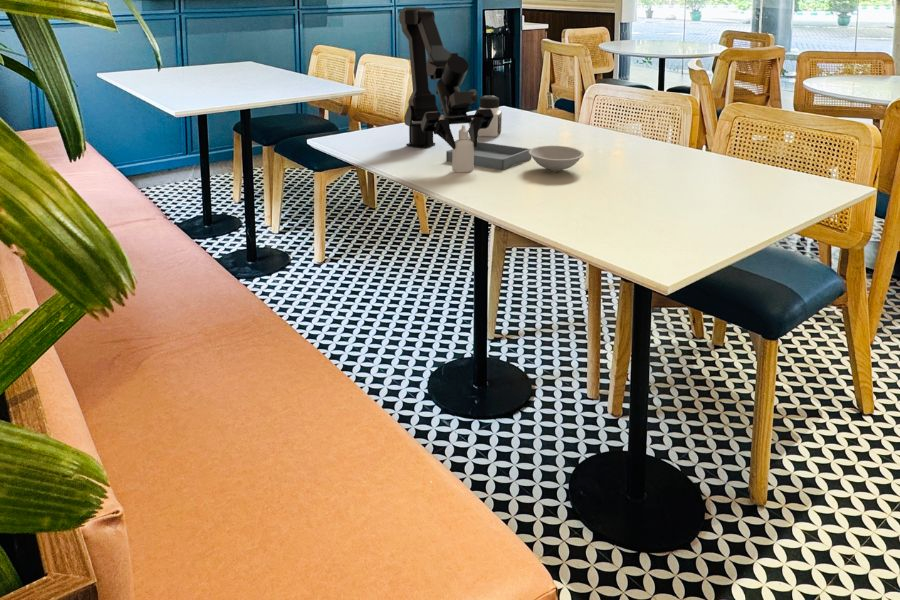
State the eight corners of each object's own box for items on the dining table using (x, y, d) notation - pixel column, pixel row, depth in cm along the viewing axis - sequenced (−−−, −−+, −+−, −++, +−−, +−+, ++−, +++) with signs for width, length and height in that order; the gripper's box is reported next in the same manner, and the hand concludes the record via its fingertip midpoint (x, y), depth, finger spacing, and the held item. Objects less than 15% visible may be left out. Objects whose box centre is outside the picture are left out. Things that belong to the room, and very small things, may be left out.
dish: (525, 163, 227) (526, 145, 225) (577, 163, 227) (579, 145, 225) (530, 179, 211) (531, 159, 209) (587, 179, 210) (588, 160, 209)
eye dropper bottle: (452, 169, 220) (452, 123, 216) (473, 169, 220) (474, 124, 215) (452, 172, 216) (452, 126, 212) (473, 173, 216) (474, 127, 211)
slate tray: (446, 161, 229) (446, 151, 228) (477, 151, 241) (477, 141, 240) (502, 170, 219) (502, 159, 218) (531, 158, 232) (531, 149, 231)
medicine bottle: (498, 137, 260) (499, 98, 255) (475, 136, 261) (476, 97, 257) (501, 133, 266) (502, 95, 262) (479, 132, 268) (480, 94, 263)
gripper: (423, 80, 210) (438, 131, 204) (491, 77, 216) (507, 127, 210) (414, 106, 219) (428, 156, 214) (479, 103, 225) (494, 151, 220)
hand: (465, 147), depth 214 cm, fingers closed on eye dropper bottle, 5 cm apart
